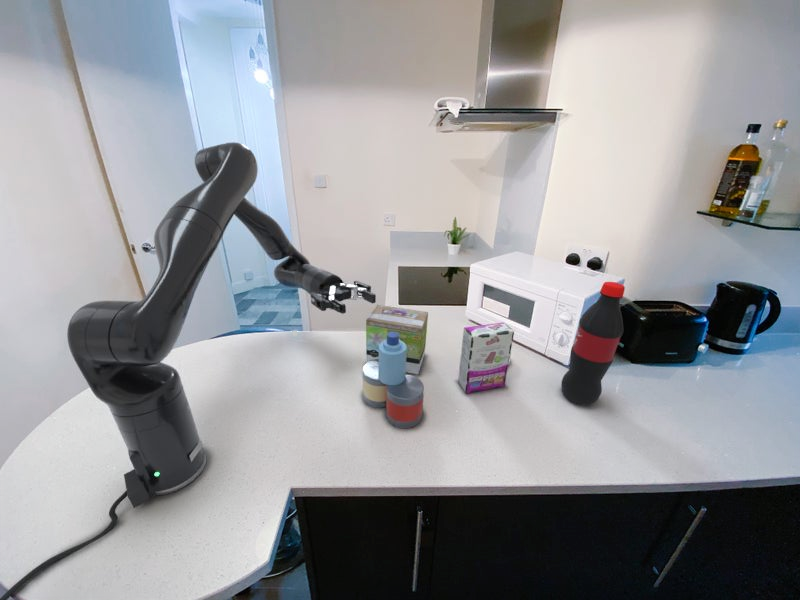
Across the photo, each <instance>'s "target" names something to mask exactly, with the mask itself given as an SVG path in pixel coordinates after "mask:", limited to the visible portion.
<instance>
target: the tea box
mask: <svg viewBox="0 0 800 600" xmlns="http://www.w3.org/2000/svg"><path fill="white" fill-rule="evenodd" d="M428 320H429V311H423V310H416V309H409V308H402V307H395V306H389V305H383V304H376V306H375V308H373V310H372V312H370V314H369V316H368V317H367V319H366V320H365V343H366V344H365V349H366V350H365V356H366V357H365V358H366V359H365V360H366V363H367V362H369V361H371V360H375V359H379V344H380V343H381V342H382V341H384V340H385V339H387V333H388V332H390V331H395V332H398V333H399V339H400V340H401V341H402V342H404V343H405V344H406V346H407V352H406V373H409V374H413V375H419V373H420V371H421V370H420V369H421V366H422V363H423V360H424V357H425V353H426V343H427V331H428Z"/></svg>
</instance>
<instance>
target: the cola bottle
mask: <svg viewBox="0 0 800 600" xmlns="http://www.w3.org/2000/svg"><path fill="white" fill-rule="evenodd" d="M625 289H626V287H625V285H623V284H621V283H619V282H615V281H605V282H603V284H602V286H601V288H600V291H599V294H600V296H599V297H598V299H597V301H595V302H594V303H593V304H591V306H590V307H588V308H587V309H586V311H585V312H583V314H582V315H581V317H580V319H579V322H578V327H577V331H576V334H575V338H574V340H573V344H572V346H571V349H570V357H569V366H568V367H569V368H568V370H567V371H566V373H565V374H564V375H563V377H562V379H561V383H560V384H561V387H560V388H561V392H562V394H563V395H564V397H565V398H566V399H567V400H569V401H570V402H572V403H574V404H578V405H580V406H590V405H593V404H595V403H596V402H597V401H598V400H599V399H600V397H601V394H602V390H603V387H602V380H603V378H604V377H605V376H606V373H607V372H608V371H609V369H610V367H611V366H612V364H613V361H614V356H615V353H616V351H617V348H618V345H619V342H620V340H621V337H622V336H623V333H624V331H625V330H624V322H623V321H624V320H623V316H622V311H621V307H620V303H621V299H622V298H623V297H624V294H625Z"/></svg>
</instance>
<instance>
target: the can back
mask: <svg viewBox="0 0 800 600" xmlns="http://www.w3.org/2000/svg"><path fill="white" fill-rule="evenodd" d="M386 392H387V385H386V384H384V383H382V382H381V381H380V380H379V359H375V360H371V361H369V362H367V361H366V363H364V365H363V366H362V393H363V394H362V395H363V396H362V397H363V400H364V402H365V403H366V404H367V405H368V406H370V407H373V408H376V409H377V408H378V409H379V408H381V409H382V408H386Z"/></svg>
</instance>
